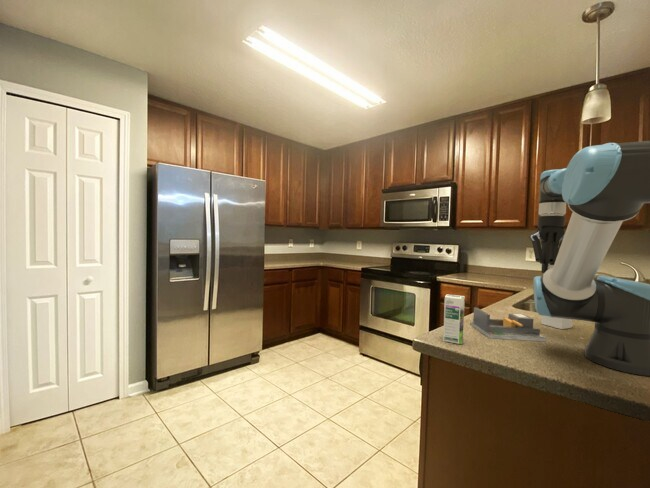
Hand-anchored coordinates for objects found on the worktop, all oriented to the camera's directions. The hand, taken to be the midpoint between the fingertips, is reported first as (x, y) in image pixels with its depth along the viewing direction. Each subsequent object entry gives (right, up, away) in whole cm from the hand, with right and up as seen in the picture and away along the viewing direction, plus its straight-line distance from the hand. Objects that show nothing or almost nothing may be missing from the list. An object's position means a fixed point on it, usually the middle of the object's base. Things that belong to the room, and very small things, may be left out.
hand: (547, 283), depth 102 cm
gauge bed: (-14, -18, +2) cm, 23 cm away
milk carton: (+12, -18, +11) cm, 25 cm away
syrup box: (-37, -18, -8) cm, 42 cm away
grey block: (-9, -16, +1) cm, 19 cm away
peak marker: (-13, -16, -1) cm, 21 cm away
